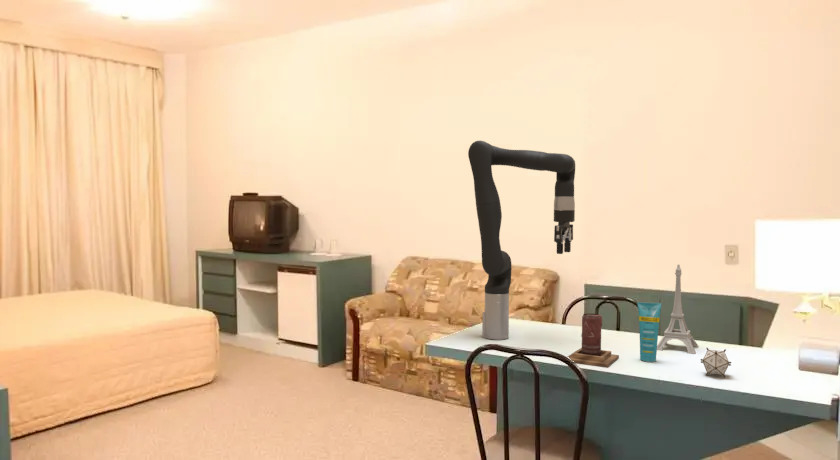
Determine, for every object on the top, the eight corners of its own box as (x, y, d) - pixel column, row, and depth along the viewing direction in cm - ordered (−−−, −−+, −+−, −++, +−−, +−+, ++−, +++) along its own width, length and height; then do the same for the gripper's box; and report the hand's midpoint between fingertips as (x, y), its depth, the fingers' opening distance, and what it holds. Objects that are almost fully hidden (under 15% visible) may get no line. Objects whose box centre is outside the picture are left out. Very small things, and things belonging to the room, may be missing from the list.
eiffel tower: (659, 342, 235) (661, 262, 234) (698, 346, 229) (700, 264, 227) (654, 350, 223) (655, 265, 222) (695, 354, 217) (697, 267, 216)
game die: (707, 386, 192) (689, 356, 196) (733, 376, 192) (714, 346, 197) (716, 379, 184) (697, 348, 188) (743, 368, 184) (723, 337, 189)
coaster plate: (564, 361, 206) (564, 354, 206) (577, 352, 218) (577, 345, 218) (607, 367, 199) (607, 359, 199) (618, 358, 211) (618, 350, 211)
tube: (636, 361, 207) (637, 302, 206) (636, 357, 212) (637, 300, 211) (660, 363, 205) (662, 304, 204) (659, 359, 209) (661, 301, 209)
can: (602, 359, 205) (602, 316, 205) (581, 358, 206) (582, 315, 206) (601, 355, 211) (601, 313, 210) (581, 354, 212) (581, 312, 212)
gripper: (560, 208, 241) (560, 251, 242) (547, 209, 229) (547, 253, 230) (580, 209, 237) (579, 252, 238) (567, 209, 225) (567, 254, 226)
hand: (563, 253), depth 234 cm, fingers open, 8 cm apart
